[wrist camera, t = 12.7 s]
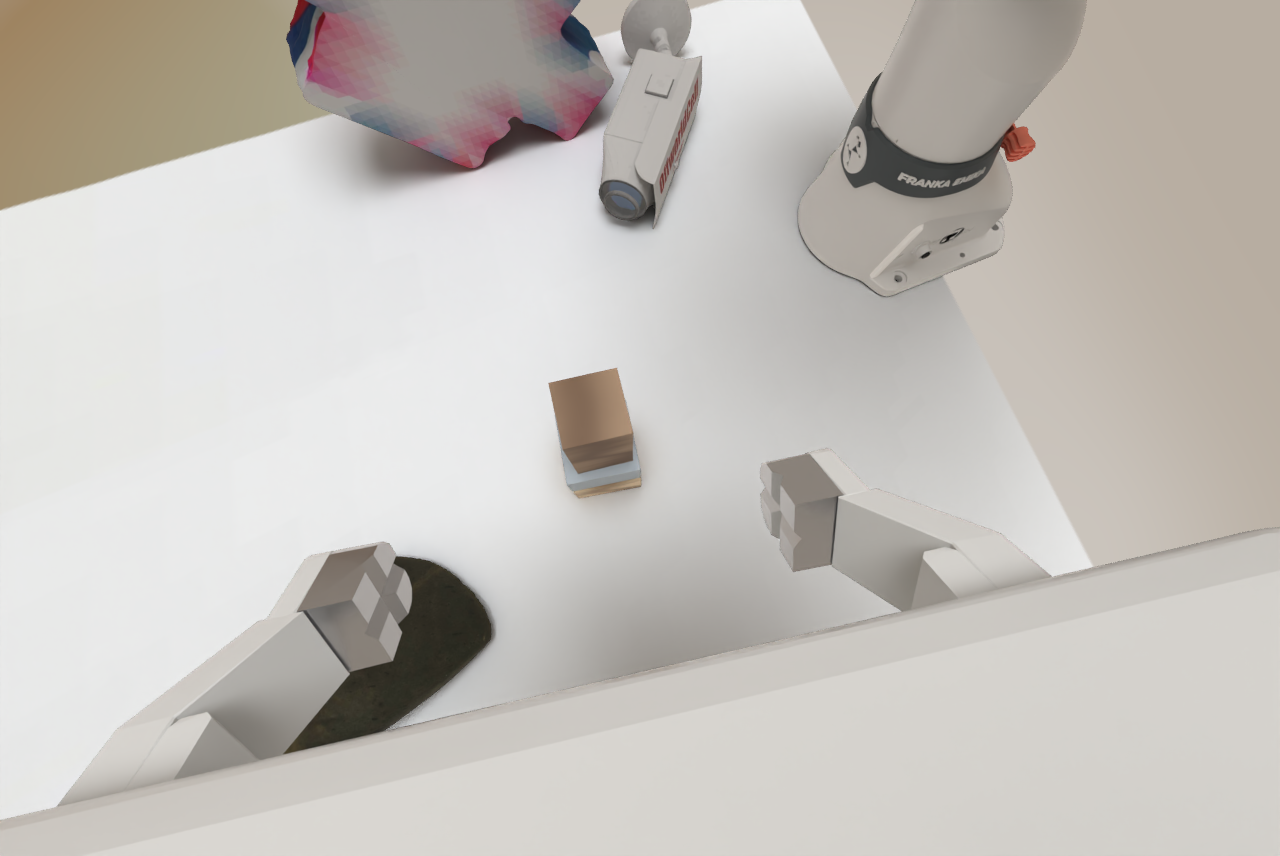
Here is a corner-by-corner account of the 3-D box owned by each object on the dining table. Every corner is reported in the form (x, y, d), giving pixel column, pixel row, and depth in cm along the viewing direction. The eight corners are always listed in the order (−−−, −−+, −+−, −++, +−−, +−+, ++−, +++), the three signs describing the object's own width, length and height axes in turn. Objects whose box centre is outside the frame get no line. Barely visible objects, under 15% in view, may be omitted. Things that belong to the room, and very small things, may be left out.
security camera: (601, 191, 46) (752, 162, 47) (558, 2, 52) (693, -21, 52) (607, 244, 54) (736, 218, 55) (569, 75, 60) (686, 54, 60)
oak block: (629, 427, 48) (628, 416, 44) (640, 486, 46) (641, 480, 42) (569, 438, 47) (563, 428, 43) (579, 498, 46) (574, 493, 42)
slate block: (626, 413, 44) (625, 400, 40) (640, 477, 42) (640, 469, 38) (561, 426, 43) (554, 414, 40) (573, 491, 42) (566, 485, 38)
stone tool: (347, 825, 37) (214, 789, 32) (347, 744, 44) (238, 704, 39) (509, 628, 41) (414, 569, 36) (485, 583, 48) (403, 529, 43)
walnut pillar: (620, 409, 40) (616, 367, 31) (632, 460, 39) (633, 433, 30) (566, 421, 39) (548, 383, 31) (578, 473, 38) (562, 449, 30)
